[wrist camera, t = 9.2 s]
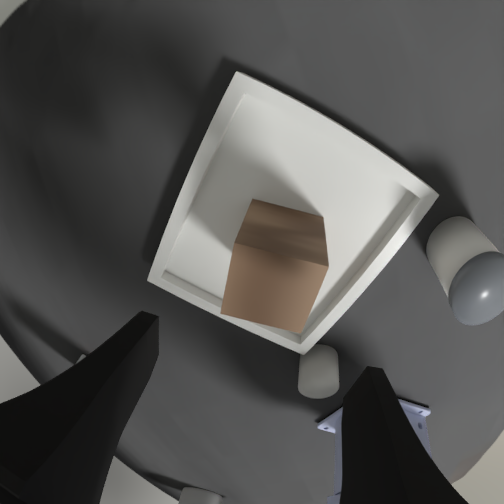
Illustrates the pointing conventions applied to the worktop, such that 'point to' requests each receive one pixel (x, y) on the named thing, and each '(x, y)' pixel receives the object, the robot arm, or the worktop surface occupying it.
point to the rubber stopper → (319, 372)
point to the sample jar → (467, 270)
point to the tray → (286, 203)
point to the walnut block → (276, 266)
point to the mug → (199, 496)
